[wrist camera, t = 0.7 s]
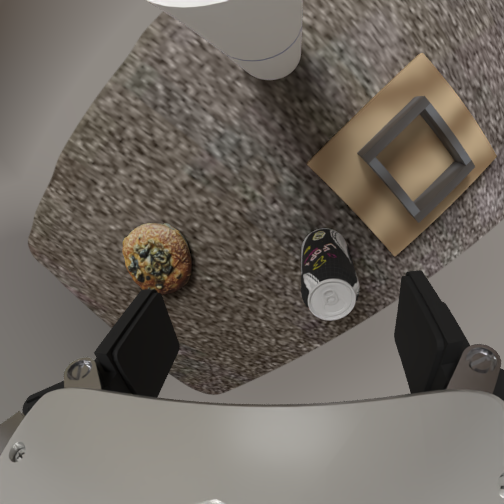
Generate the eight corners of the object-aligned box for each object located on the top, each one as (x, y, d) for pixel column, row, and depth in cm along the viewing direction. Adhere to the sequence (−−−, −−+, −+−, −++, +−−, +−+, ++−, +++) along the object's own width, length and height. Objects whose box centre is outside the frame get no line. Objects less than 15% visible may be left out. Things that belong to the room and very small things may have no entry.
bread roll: (180, 302, 45) (165, 319, 40) (124, 263, 45) (104, 275, 41) (209, 243, 40) (193, 255, 36) (144, 202, 41) (123, 210, 36)
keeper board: (492, 154, 28) (509, 160, 25) (392, 252, 37) (401, 268, 33) (418, 54, 25) (432, 48, 22) (306, 162, 34) (307, 169, 30)
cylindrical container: (278, 91, 30) (232, 36, 8) (225, 61, 30) (93, -14, 7) (313, 44, 27) (338, -82, 5) (259, 14, 26) (189, -120, 4)
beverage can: (336, 218, 36) (351, 265, 25) (352, 257, 38) (369, 314, 27) (294, 236, 38) (291, 288, 27) (311, 273, 40) (314, 333, 29)
